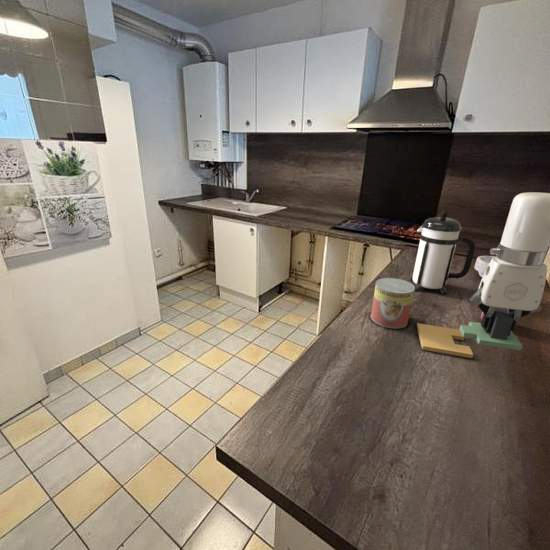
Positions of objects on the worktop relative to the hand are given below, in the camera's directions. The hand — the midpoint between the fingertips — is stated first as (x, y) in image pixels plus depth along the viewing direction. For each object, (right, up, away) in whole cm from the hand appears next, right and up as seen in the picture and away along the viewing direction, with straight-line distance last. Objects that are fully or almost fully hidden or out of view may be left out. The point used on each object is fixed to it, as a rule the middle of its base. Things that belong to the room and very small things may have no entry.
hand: (495, 330), depth 67 cm
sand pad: (-3, -6, +16) cm, 17 cm away
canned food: (-14, -2, +27) cm, 30 cm away
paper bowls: (+43, +11, +58) cm, 73 cm away
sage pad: (-1, -2, +1) cm, 2 cm away
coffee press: (+12, +8, +49) cm, 51 cm away
